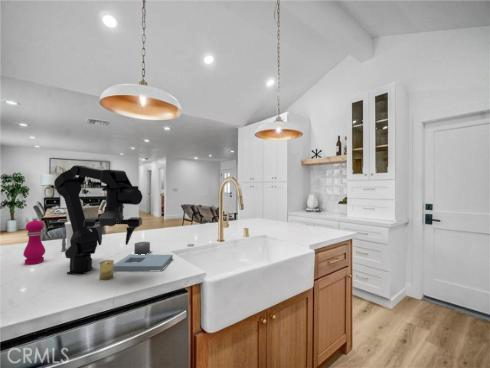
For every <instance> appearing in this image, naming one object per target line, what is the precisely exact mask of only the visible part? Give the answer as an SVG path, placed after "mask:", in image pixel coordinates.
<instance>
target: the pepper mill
mask: <svg viewBox="0 0 490 368" xmlns="http://www.w3.org/2000/svg"><path fill="white" fill-rule="evenodd" d="M38 219H39V218H38V217H37V216H34V217H32V220H30V221H29V222H27V223H26V225H25V229H26V231H27V237H28V240H27V241H28V242H27V245H26V247H25V248H24V250H23V257H24V258H26V259H24V264H25V265H29V266H30V265H38V264H40V263H44V261H45V260H44V259H45V258H44V255H45V254H46V248H45V246H44V244H43V242H42V235H43V229H44V227H45V224H44V222H42V221H41V220H38Z"/></svg>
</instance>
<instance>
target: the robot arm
mask: <svg viewBox="0 0 490 368" xmlns="http://www.w3.org/2000/svg"><path fill="white" fill-rule="evenodd" d="M86 178H89V179H90V178H91V179H95V180H98V181H100V182H101V183H102V184H104V185H105V186H104V187H102V189H101V191H104V192H106V194H105V195H106V196H105V197H106V198H105V199H106V200H105V206H104V211H103V212H102V213H101V214H100V215H99V216H91V217H87V218H86V216H85V212H84V209H83V208H84V207H83V208H82V205H81V202H82V201H80V200H81V196H80V194H81V191H82V189H83V188H82V185H83V184H84V183H85V182H86ZM53 184H54V187H55V189H56V192H57V194H58V195H60V196H61V197H62V198H63V199H64V203H65V207H66V212H67V211H68V215H69V218H70V222H71V226H72V230H73V235H72V237H71V240H70V243H71V246H70V247H69V248H68V249H67V251H66V252H64V255H65V259H69V271H66V274H68V275H74V274H75V275H77V274H78V275H81V274H86V273H88V272H89V271H91V270H92V269H94V267H93V258H92V255H93V254H95V252H96V250H97V248H98V247H97V246H101V245H102V242H103V227H115V225H127V227H126V236H125V245H126V246H128V244H129V241H130V240H131V238H132V235H133V233H134V231H135V229H137V228H138V227H140V226H142V225H143V218H142V217H139V216H135V217H134V216H133V217H129V218H126V219H125V218H124V217H125V216H124V208H125V205H133V206H137V205H140V204H141V203H142V200H143V194H142V191H141V190H140V188H139V186H138V185H133V184H132V182H131V181H130V179H129V177H128V174H127V173H126V171H125V170H121V169H120V170H119V169H100V168H99V169H98V168H95V167H89V166H87V165H80V164H78V165H73V166H72V167H71V168H69V169H68V170H66V171H64V172H62V173H60V174H59V175H58V176H57V177H56V178H55V179H54V183H53ZM89 229H91V230H92V231H90V230H89Z"/></svg>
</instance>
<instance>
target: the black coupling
mask: <svg viewBox="0 0 490 368" xmlns="http://www.w3.org/2000/svg"><path fill="white" fill-rule="evenodd" d="M150 249H151V243H150V242H149V241H138V242H135V243H134V250H133V251H134V254H133V255H135V254H138V255H141V254H145V255H148V254H147V253H149V252H151V250H150ZM149 254H150V253H149Z"/></svg>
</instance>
